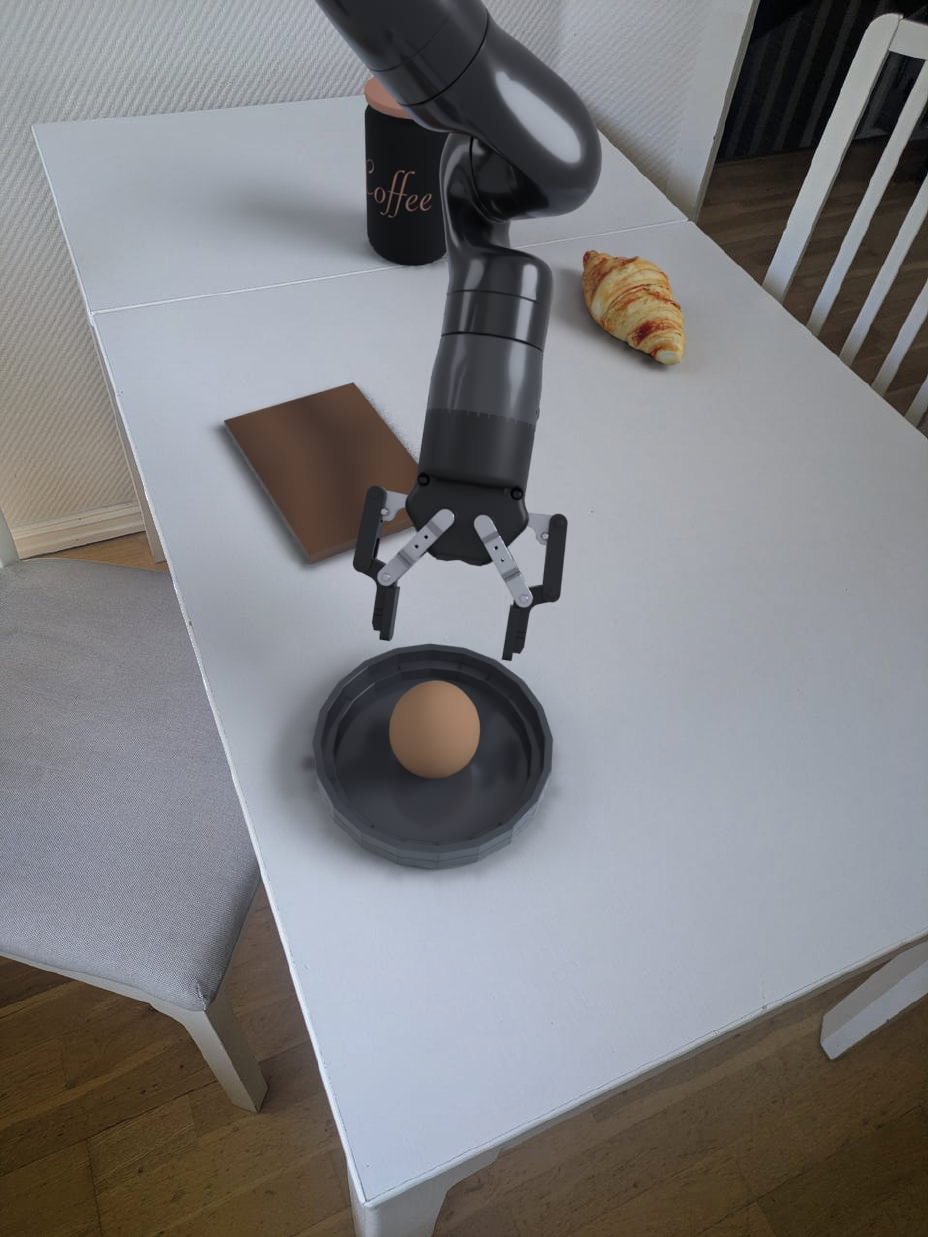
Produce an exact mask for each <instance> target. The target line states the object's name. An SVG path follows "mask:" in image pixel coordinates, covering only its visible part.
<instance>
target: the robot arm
mask: <svg viewBox="0 0 928 1237" xmlns="http://www.w3.org/2000/svg"><path fill="white" fill-rule="evenodd" d="M314 2H315V3H316V5H317V6H318V7H319V9H320V10H321V11H322V13H323V14H324V15H325V16H326V18H327V19H328V21H329V22H330V23H331V25H332V26H333V27H334V28H335V30H336V31H337V33H338V34H339V35H340V36H341V38H342V39H343V40H344V42H345V43H346V44H347V45H348V47H349V48H350V49H351V50H352V51H353V52H354V54H355V55H356V56H357V58H358V59H359V60H360V61H361V63H363V64H364V66H365V67H366V68H367V69H368V71H369V72H370V73H371V74H372V75H373V77H374V76H375V77H376V78H377V80H378V81H379V82H380V83H381V84H382V86H383V87H384V88H385V89H386V90H387V91H388V93H389V94H390V95H391V96H392V97H393V98H394V99H395V101H396V102H397V103H398V104H399V106H400V107H401V108H402V109H403V110H404V111H405V112H406V113H407V114H408V115H409V116H410V117H411V118H412V119H413V120H414V121H415V122H416V123H417V124H419V125H420V126H422V127H424V128H426V129H428V130H432V131H436V132H445V133H450V134H449V136H448V138H447V140H446V143H445V145H444V148H443V152H442V156H441V162H440V174H439V175H440V191H441V201H442V210H443V219H444V229H445V242H446V250H447V252H446V258H447V267H448V286H447V289H446V290H447V291H446V298H445V303H444V304H445V305H444V311H443V318H442V325H441V331H440V339H439V343H438V348H437V352H436V355H435V359H434V363H433V365H432V369H431V375H430V382H429V388H428V389H429V390H428V396H427V402H426V410H425V415H424V423H423V429H422V437H421V444H420V451H419V457H418V458H419V459H418V463H417V464H418V471H417V478H416V482H415V485H414V487H413V489H412V491H411V492H410V493H409V494H408V495H406V494H402V493H397V492H392V491H388V490H387V489H385V488H383V487H380V486H372V487H370V488H369V489H368V490H367V494H366V499H365V504H364V509H363V514H362V519H361V524H360V529H359V534H358V539H357V544H356V548H354V549H355V550H354V554H353V560H352V567H353V569H354V571H356V572H358V573H361V574H363V575H365V576H367V577H369V578H370V579H372V581H374V583H375V586H376V590H375V597H374V605H373V611H372V612H373V613H372V617H371V618H372V619H371V626H372V629H373V631H376V632H379V634H378V635H379V636H378V638H379V641H384V642H385V641H386V642H391V641H392V640H393V637H394V633H395V626H396V620H397V613H398V605H399V598H400V592H401V591H400V590H401V586H399V585H398V584H399V583H398V582H399V580H400V579H401V578H402V577H403V576H404V575H405V574H406V573H407V572H408V571H409V570H410V569H412V567H414V566H415V565H416V564H417V563H418V562H419V561H420V560H421V559H422V558H423V557H424V556H425V555H426V554H427V553H428V554H429V555H430V556H431V557H432V558H434V559H435V560H437V561H443V562H451V561H453V562H454V561H461V562H462V563H465V564H468V565H469V566H476V567H482V566H487V565H490V564H492V563H493V564H494V565H495V568H496V570H497V572H498V573H499V575H500V577H501V578H502V580H503V582H504V583H505V586H506V587H507V589H508V591H509V593H510V595H511V596H512V598H513V600H512V601H513V602H512V604H509V610H508V616H507V622H506V623H507V624H506V629H505V636H504V641H503V642H504V643H503V648H502V654H501V655H502V656H501V660H502V661H508V662H512V661H513V654H519V655H520V654H521V653H522V651H523V650H524V648H525V644H526V638H527V631H528V625H529V619H530V614H531V611H532V609H533V608H534V607H536V606H538V605H542V604H548V603H556V602H557V601H559V599H560V598H561V595H562V585H563V584H562V583H563V575H564V565H565V556H566V555H565V553H566V547H567V546H566V544H567V537H568V536H567V535H568V526H569V521H568V519H567V517H566V516H565V515H564V514H562V513H554V514H543V513H534V512H533V513H532V512H531V513H530V512H528V509H527V506H526V494H527V488H528V481H529V475H530V468H531V462H532V455H533V450H534V449H533V448H534V442H535V438H536V436H535V434H536V431H537V430H536V429H537V424H538V420H539V418H540V412H541V409H540V408H541V407H540V405H541V398H542V390H543V368H544V353H545V349H546V342H547V335H548V330H549V323H550V317H551V311H552V305H553V304H552V303H553V297H554V286H555V285H554V284H555V283H554V282H555V281H554V276H553V271H552V269H551V267H550V266H549V264H548V263H547V262H545V260H544V259H543V258H540V257H539V256H537V255H534V254H533V253H530V252H527V251H524V250H521V249H517V248H514V247H513V248H512V246H511V240H510V231H511V230H510V229H511V224H512V222H515V221H527V220H535V219H545V218H553V217H560V216H563V215H566V214H569V213H572V212H574V211H576V210H578V209H579V208H581V207H582V206H583V205H584V204H586V202H587V201H588V200H589V199H590V197H591V196H592V194H593V193H594V192H595V190H596V188H597V186H598V183H599V179H600V176H601V173H602V162H603V160H602V158H603V154H602V143H601V138H600V135H599V131H598V128H597V125H596V122H595V120H594V118H593V116H592V114H591V111H590V110H589V108H588V107H587V105H586V104H585V102H584V100H583V99H582V98H581V97H580V95H579V94H578V93H577V92H576V90H574V88H573V87H572V86H571V85H570V84H569V83H567V81H565V79H564V78H562V77H561V76H560V75H559V74H558V73H557V72H556V71H554V70H553V69H552V68H551V67H550V66H549V65H547V64H546V63H545V62H544V61H543V60H541V59H540V57H538V56H537V55H536V54H535V53H533V52H532V50H530V49H529V48H528V47H527V46H526V45H525V44H523V43H522V42H520V41H519V40H518V39H516V38H515V37H514V36H513V35H511V34H510V33H508V32H507V31H506V30H504V29H503V28H502V27H501V26H500V25H499V24H498V23H497V22H496V20H495V19H494V17H493V16H492V14H491V13H490V10H488V8H487V7H486V5H485V3H484V1H483V0H314ZM401 508H405V509H406V512H407V514H408V516H409V518H410V520H411V522H412V524H413V528H414V530H415V532H416V534H415V535H414V536H412V538H411V539H409V541H408V542H407V543H406V544H405V545H404V546H402V548H400V550H399V551H398V552H397V553H396V554H395V555H394V556H393V557H392V558H391V559H390V560H389V561H388V562H387V563H386V562H384V561H382V560H381V559H378V554H379V549H380V544H381V540H382V538H381V535H382V530H383V525H384V521H390V520H392V519H393V518H394V517H395V515H396V513H397V511H398V510H399V509H401ZM527 527H529V528H531V529H532V530H533V531H534V533H535V540H536V541H537V543H538V544H540V545H542V546H545V554H544V565H543V573H542V583H541V584H536V585H532V586H531V585H530V586H529V585H528V583H527V581H526V580H525V578H524V576H523V574H522V572H521V569H520V568H519V566H518V564H517V562H516V561H515V558H514V556H513V555H512V552H510V549H509V546H511V545H512V544H513V543H514V542H515V541H516V539H517V538H519V537H520V535H522V533H523V532H525V531H526V529H527Z"/></svg>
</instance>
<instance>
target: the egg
mask: <svg viewBox="0 0 928 1237" xmlns="http://www.w3.org/2000/svg"><path fill="white" fill-rule="evenodd" d="M479 735H480V723H479V717H478V714H477V711H476V708H475V706H474V704H473V703H472V701H471V700H470V699H469V697H468V696H467V695H466V694H465V693H464V692H463V691H462V690H461V689H459V688H458V687H457V686H455V685H453V684H451V683H447V682H444V681H436V680H435V681H427V682H424V683H421V684H418V685H416V686H415V687H413V688H411V689H410V690H409V691H408V692H407V693H405V694H404V695H403V696H402V697H401V699H400V700H399V701H398V703H397V704H396V706H395V708H394V711H393V714H392V717H391V719H390V727H389V736H390V743H391V747H392V750H393V752H394V754H395V755H396V757H397V759H398V760H399V762H400V763H401V764H402V765H403V766H404V767H405V768H406V769H407V770H409V771H410V772H412V773H413V774H415V775H418V776H420V777H424V778H428V779H429V778H444V777H448V776H450V775H452V774H454V773H456V772H458V771H460V770H461V769H462V768H463V767H465V766H466V765H467V764H468V763H469V761H470V760H471V758H472V757H473V755H474V754H475V752H476V749H477V746H478V743H479Z"/></svg>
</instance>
